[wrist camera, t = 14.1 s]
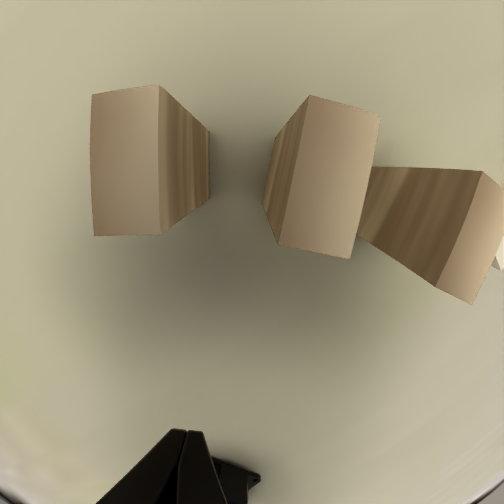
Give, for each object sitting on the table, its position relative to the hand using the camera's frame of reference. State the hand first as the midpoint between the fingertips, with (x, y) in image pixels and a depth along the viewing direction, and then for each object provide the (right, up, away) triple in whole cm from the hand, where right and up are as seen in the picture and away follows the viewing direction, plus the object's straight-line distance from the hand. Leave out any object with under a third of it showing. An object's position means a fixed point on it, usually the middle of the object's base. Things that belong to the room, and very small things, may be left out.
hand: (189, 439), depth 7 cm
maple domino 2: (+4, +10, +11) cm, 15 cm away
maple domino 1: (-2, +10, +11) cm, 15 cm away
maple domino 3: (+9, +8, +12) cm, 17 cm away
